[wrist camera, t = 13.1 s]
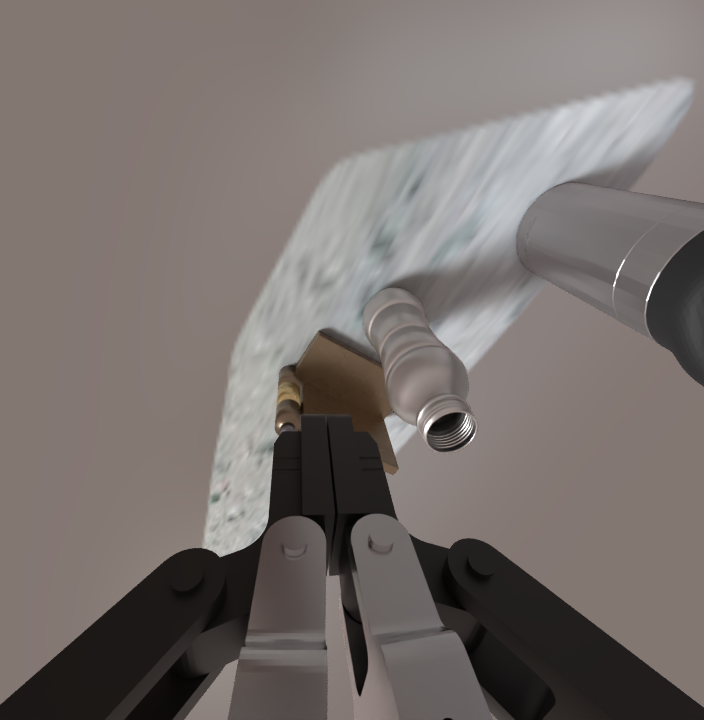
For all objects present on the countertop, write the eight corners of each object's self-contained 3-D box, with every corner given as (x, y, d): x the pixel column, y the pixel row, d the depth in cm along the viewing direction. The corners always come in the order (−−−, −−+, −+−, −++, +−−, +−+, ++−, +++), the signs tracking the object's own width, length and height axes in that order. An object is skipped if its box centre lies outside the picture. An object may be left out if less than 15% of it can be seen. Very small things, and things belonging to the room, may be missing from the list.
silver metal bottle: (423, 284, 41) (515, 392, 24) (409, 341, 44) (481, 471, 27) (364, 278, 40) (416, 386, 22) (354, 336, 43) (393, 469, 26)
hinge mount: (309, 325, 41) (312, 376, 33) (410, 378, 47) (436, 435, 38) (275, 377, 44) (269, 438, 35) (374, 422, 49) (391, 484, 41)
